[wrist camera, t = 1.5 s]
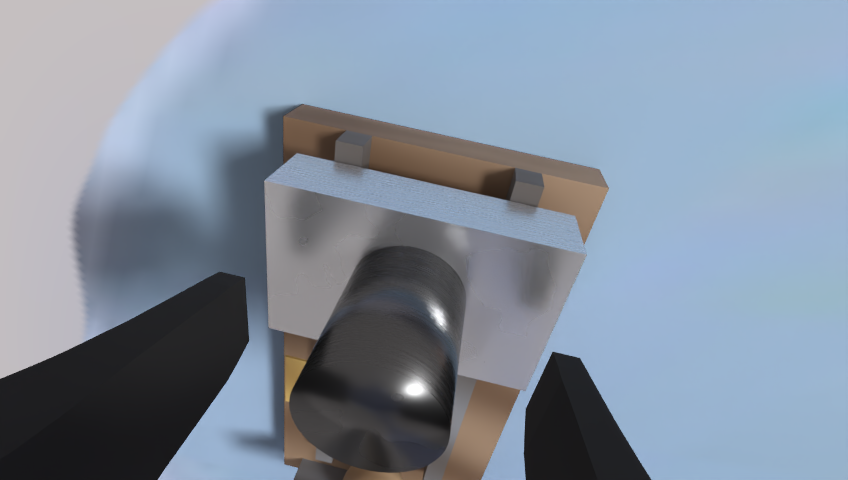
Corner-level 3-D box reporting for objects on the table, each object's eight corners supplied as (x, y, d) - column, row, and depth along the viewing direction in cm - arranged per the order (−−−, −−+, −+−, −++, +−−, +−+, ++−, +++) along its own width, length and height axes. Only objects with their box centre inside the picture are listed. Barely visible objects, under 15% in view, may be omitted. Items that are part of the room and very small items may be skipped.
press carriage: (523, 343, 15) (532, 536, 10) (295, 288, 15) (188, 446, 10) (575, 215, 12) (626, 389, 7) (297, 153, 12) (152, 273, 7)
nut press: (468, 483, 24) (459, 604, 19) (295, 439, 25) (247, 546, 20) (599, 169, 14) (645, 263, 9) (302, 104, 15) (207, 162, 10)
